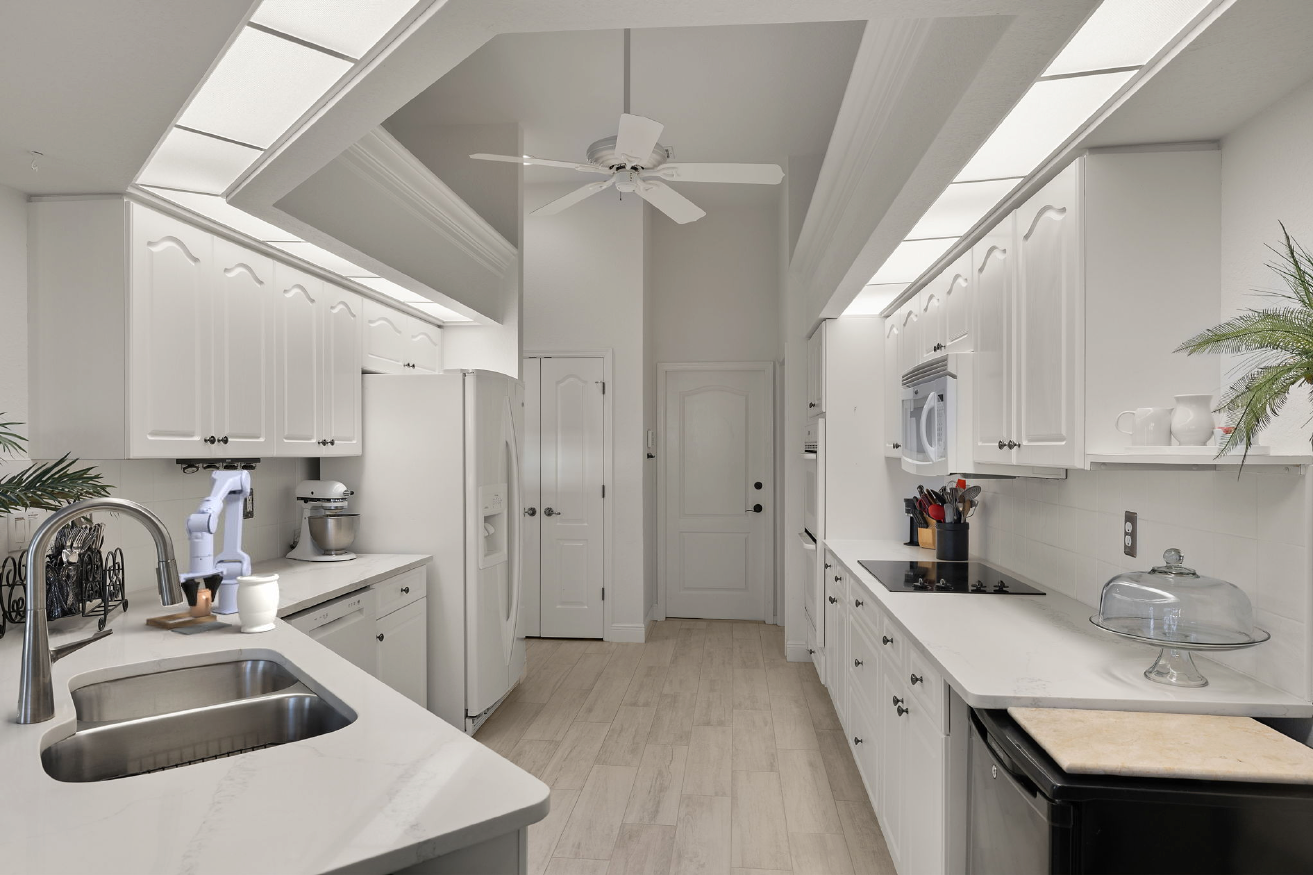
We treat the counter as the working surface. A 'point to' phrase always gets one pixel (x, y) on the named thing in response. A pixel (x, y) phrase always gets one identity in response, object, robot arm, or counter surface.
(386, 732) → the counter surface
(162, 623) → the wooden tray
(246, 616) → the jar
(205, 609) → the jug
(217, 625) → the mat
